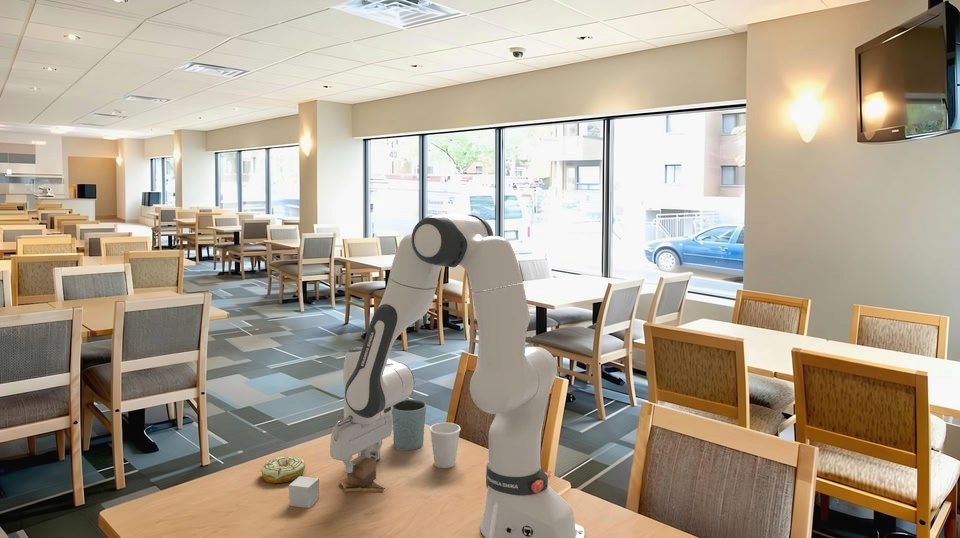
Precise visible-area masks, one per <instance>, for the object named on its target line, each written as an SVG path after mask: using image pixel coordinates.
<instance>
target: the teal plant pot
mask: <svg viewBox="0 0 960 538" xmlns="http://www.w3.org/2000/svg"><path fill="white" fill-rule="evenodd" d="M391 412H392V415H393V430H392V434H393V437H392V438H393V439H392V440H393V442H392V443H393V447H395V449H398V450H401V451H413V450H418V449H421V448H422V447H423V445H424V438H425V437H424V435H425V425H426V413H427V402H425V401H423V400H419V399H415V398H414V399H412V398H411V399H410V398H409V399H408V398H407V399H405V400H403V401H401V402H399V403H397V404H395V405H393V409H392V411H391Z"/></svg>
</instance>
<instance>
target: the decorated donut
mask: <svg viewBox="0 0 960 538" xmlns="http://www.w3.org/2000/svg"><path fill="white" fill-rule="evenodd" d="M305 463H306V461H304V459H302V458H300V457H297V456H292V455H282V456H277V457H275V458H272V459H270V460H268V461H267V462H266V463H265V464H264V465H263V466H262V467H261V469H260V472H261V474H262V478H263V480H264V481H265V482H266V483H268V484H269V483H270V484H283V483H287V482H291V481H292V482H293V481H294V480H296V479H297V478H298V477H299V476H302V475H303V474H304V472H305V469H306V464H305Z"/></svg>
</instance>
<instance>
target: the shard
mask: <svg viewBox="0 0 960 538" xmlns="http://www.w3.org/2000/svg"><path fill="white" fill-rule="evenodd" d="M338 483H339V485H341V486H342V487H343V489H342V490H343V492H373V493H374V492H384V491H385V490H386V487H383V486H382V485H380V484H378V483H376V482H375V480H374V481H372V482H370V483H369V484H367V485H366V486H364V487H362V486H358V485H355V484H351V483H347V477H346V478H343V479H339V480H338Z"/></svg>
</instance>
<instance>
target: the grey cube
mask: <svg viewBox="0 0 960 538" xmlns="http://www.w3.org/2000/svg"><path fill="white" fill-rule="evenodd" d="M319 499H320V478H318V477H310V476H302V475H301V476H299V477H298V478H297V479H294V480H292V482H291V483H290V484H288V505H289V506H291V507H296V508H297V507H298V508H306V509H310V508H311V506H313V505H314V504H315V503H316V502H317V501H318V500H319Z"/></svg>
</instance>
